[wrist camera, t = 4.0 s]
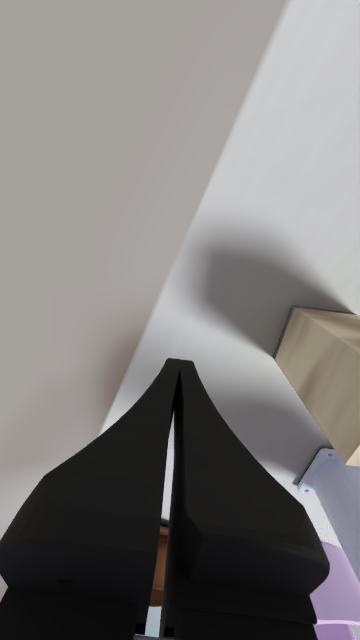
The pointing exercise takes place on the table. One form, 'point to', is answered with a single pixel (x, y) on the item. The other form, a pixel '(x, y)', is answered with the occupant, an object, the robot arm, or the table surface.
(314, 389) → the maple block
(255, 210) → the table surface
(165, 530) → the cup and saucer
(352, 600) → the clip
